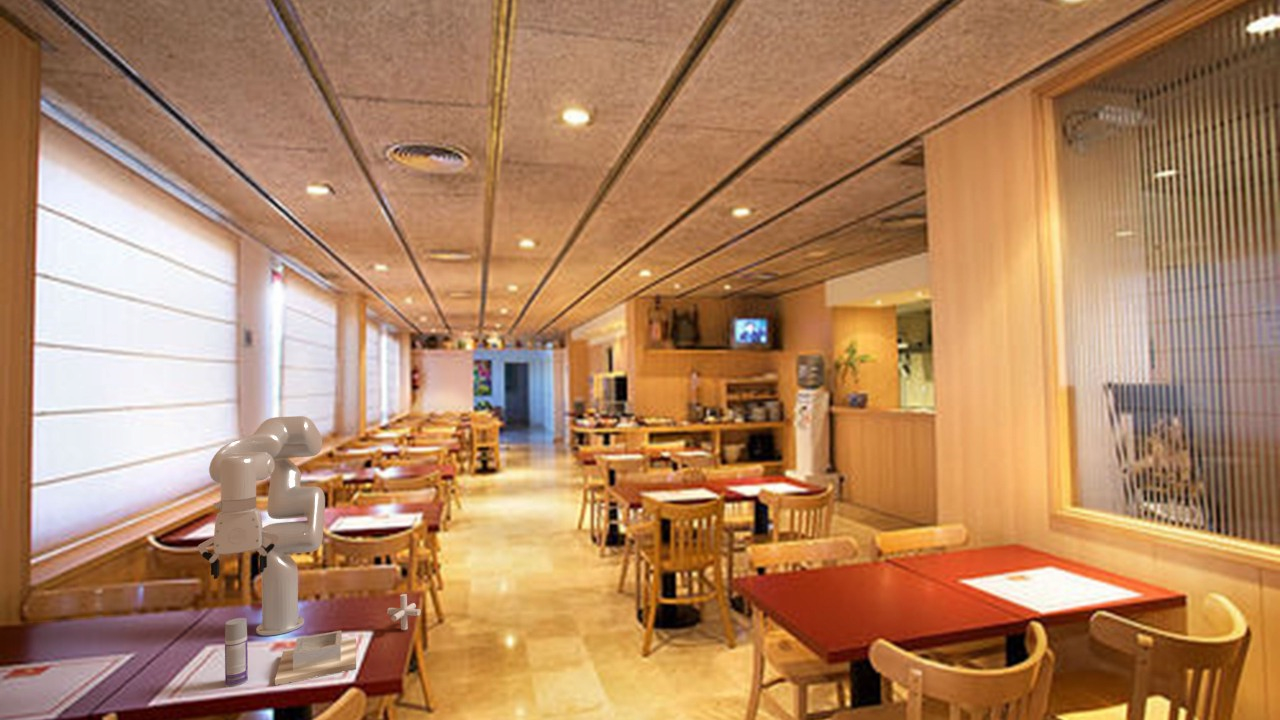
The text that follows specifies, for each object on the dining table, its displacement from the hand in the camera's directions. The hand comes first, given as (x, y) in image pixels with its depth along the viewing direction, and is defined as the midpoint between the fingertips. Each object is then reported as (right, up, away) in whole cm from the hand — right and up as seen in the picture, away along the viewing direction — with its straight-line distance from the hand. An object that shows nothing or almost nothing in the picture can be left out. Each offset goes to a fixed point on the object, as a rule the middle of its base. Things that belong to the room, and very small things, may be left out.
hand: (239, 574), depth 155 cm
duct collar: (+15, -25, +8) cm, 30 cm away
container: (0, -27, -1) cm, 27 cm away
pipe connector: (+30, -27, +29) cm, 50 cm away
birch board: (+16, -26, +8) cm, 32 cm away
